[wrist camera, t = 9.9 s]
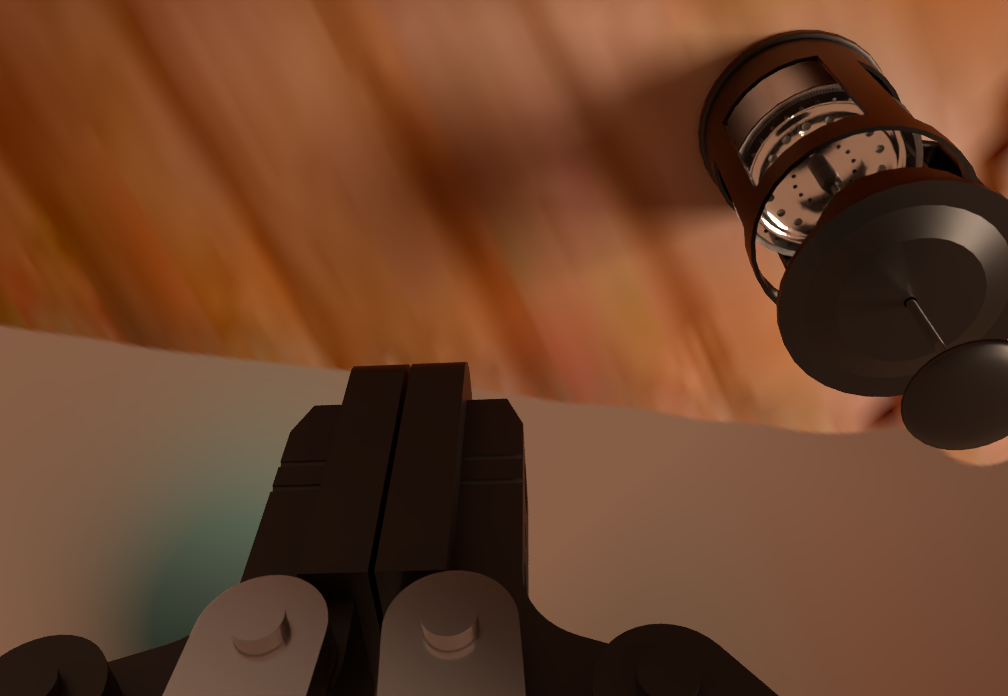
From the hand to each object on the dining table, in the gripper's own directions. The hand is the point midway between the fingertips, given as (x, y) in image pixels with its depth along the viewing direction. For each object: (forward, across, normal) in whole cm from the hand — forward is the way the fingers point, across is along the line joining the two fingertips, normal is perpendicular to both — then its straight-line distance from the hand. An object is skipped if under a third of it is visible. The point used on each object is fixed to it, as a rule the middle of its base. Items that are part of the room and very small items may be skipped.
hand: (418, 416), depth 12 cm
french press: (+35, -15, +10) cm, 40 cm away
